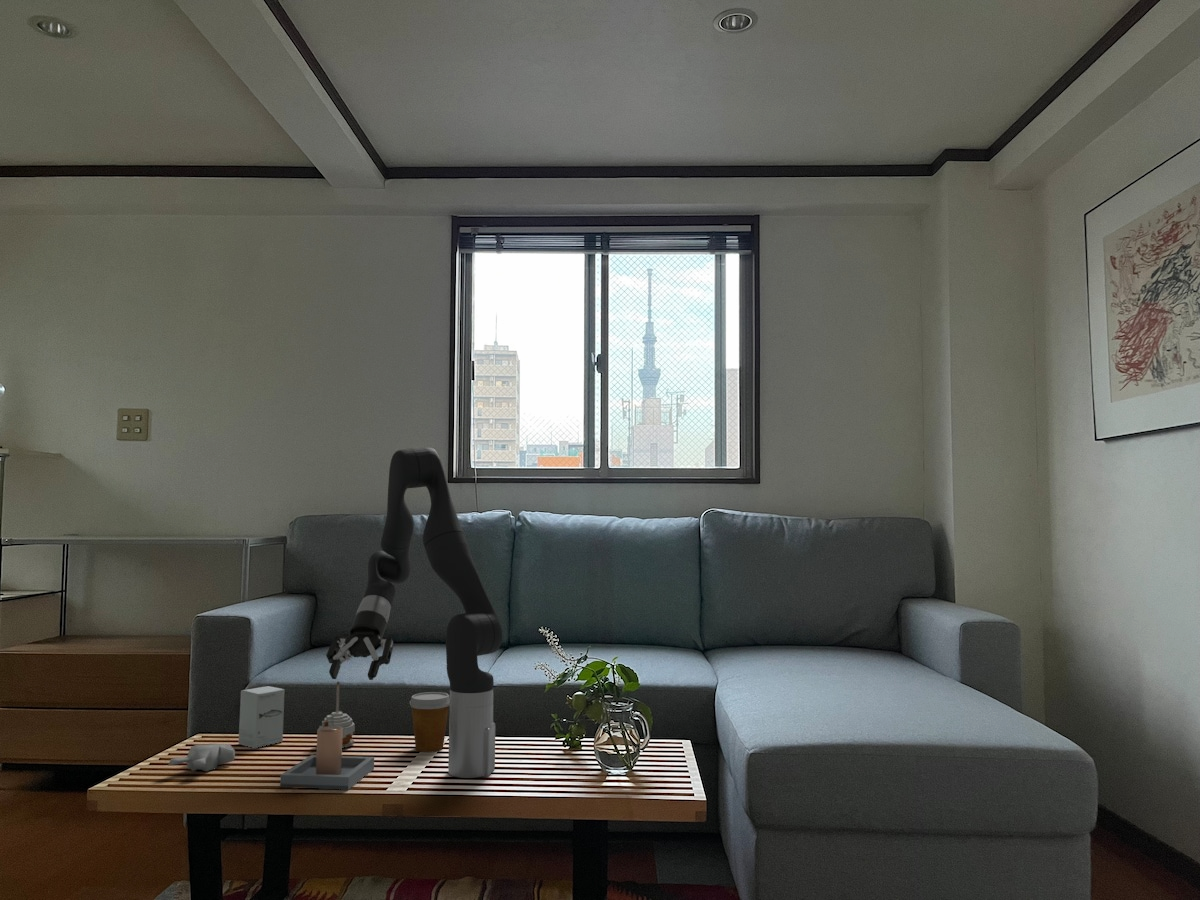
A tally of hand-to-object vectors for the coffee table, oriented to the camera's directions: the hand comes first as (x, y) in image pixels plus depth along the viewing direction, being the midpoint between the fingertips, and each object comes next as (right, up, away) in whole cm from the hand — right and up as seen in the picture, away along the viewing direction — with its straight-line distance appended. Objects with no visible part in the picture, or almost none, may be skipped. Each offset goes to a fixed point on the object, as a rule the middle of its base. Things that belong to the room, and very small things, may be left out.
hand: (351, 677), depth 186 cm
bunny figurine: (-29, -18, -8) cm, 35 cm away
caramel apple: (-6, -19, +10) cm, 22 cm away
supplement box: (-25, -19, +12) cm, 34 cm away
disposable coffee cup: (+16, -19, +9) cm, 26 cm away
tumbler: (-1, -16, -14) cm, 21 cm away
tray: (-1, -17, -14) cm, 22 cm away
